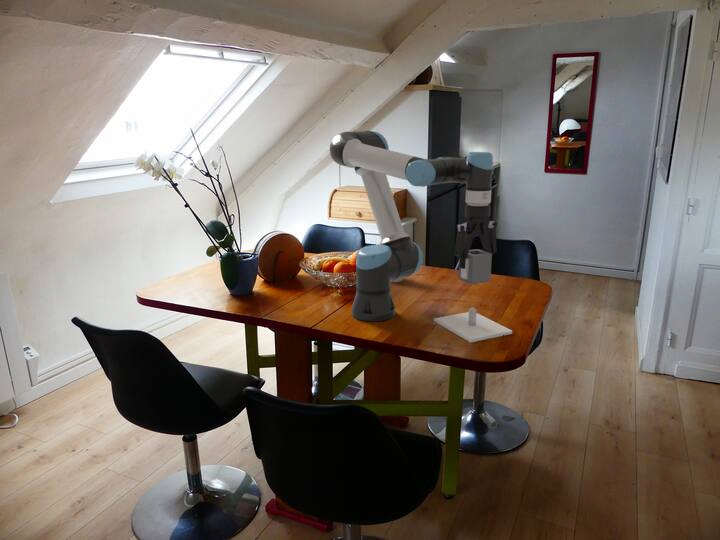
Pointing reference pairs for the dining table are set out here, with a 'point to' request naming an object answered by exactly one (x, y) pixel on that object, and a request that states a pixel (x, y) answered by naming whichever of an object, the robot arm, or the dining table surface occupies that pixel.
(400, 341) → the dining table surface
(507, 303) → the dining table surface
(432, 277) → the dining table surface
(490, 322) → the base plate
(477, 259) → the block
